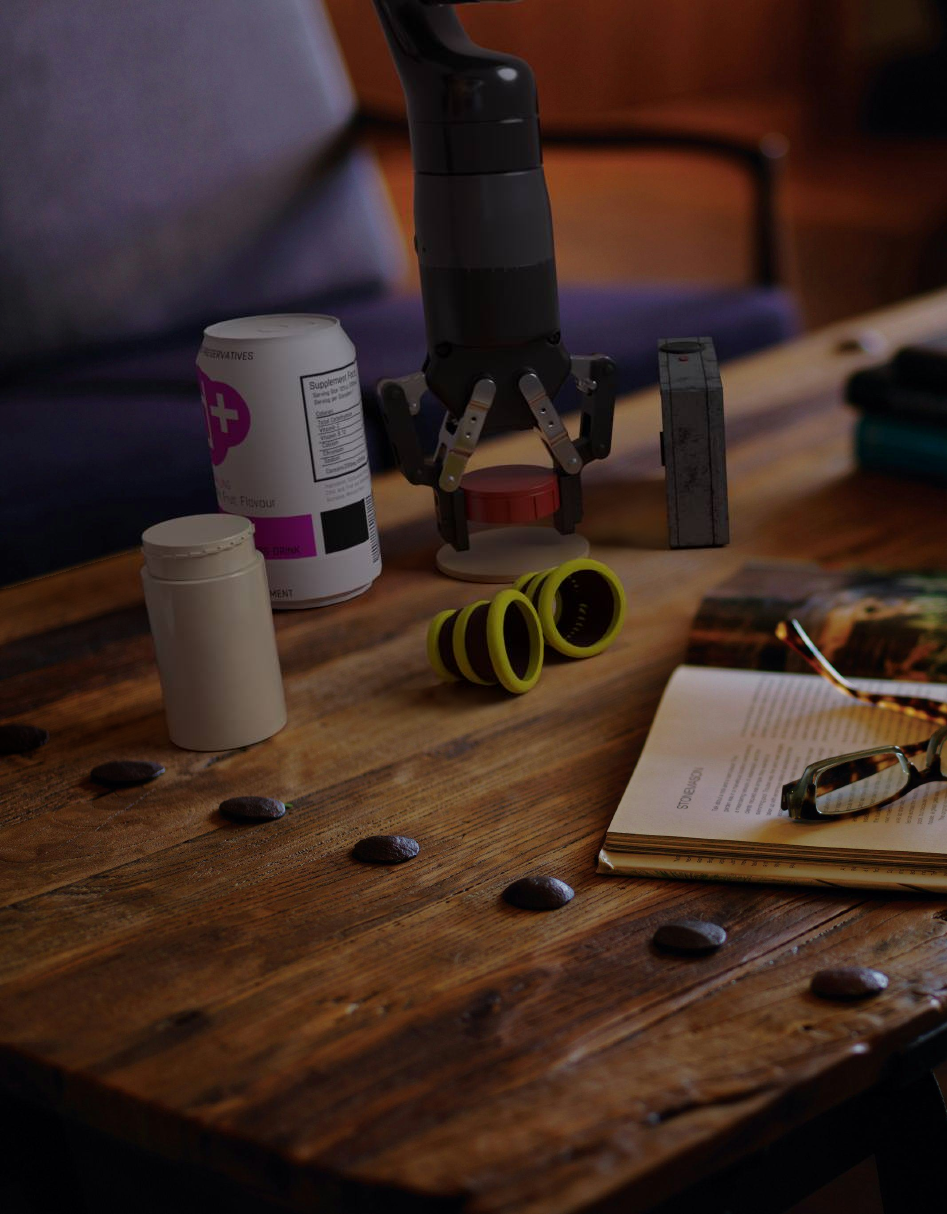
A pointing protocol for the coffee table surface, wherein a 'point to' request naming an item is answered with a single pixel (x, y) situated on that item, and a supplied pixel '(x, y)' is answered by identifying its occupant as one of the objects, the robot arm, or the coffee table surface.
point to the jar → (212, 632)
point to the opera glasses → (529, 626)
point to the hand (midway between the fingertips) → (513, 538)
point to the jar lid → (510, 493)
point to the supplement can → (293, 452)
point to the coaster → (511, 554)
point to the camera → (693, 442)
